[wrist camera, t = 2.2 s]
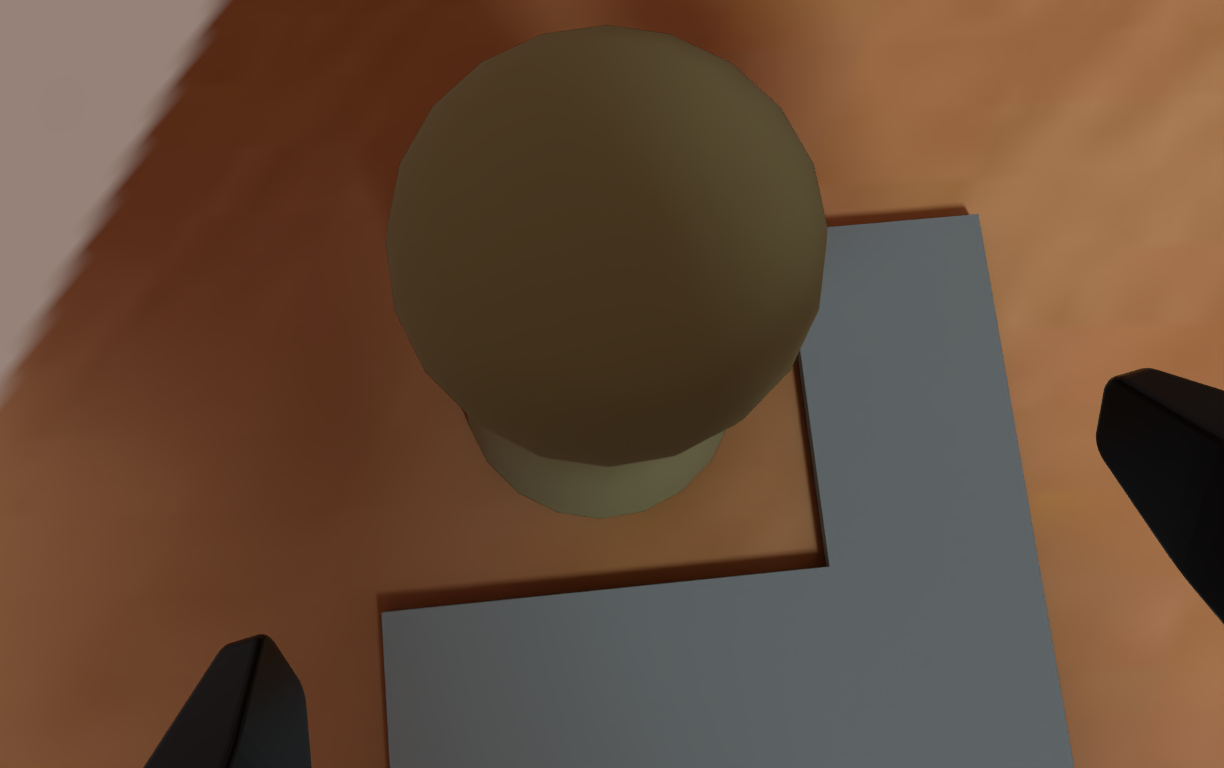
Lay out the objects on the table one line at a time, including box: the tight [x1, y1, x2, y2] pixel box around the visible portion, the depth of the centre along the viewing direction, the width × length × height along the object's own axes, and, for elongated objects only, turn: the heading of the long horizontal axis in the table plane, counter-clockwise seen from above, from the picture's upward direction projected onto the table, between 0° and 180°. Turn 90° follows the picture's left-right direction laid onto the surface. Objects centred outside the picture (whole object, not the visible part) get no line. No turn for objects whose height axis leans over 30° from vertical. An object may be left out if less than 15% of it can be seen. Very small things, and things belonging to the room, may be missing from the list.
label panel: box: [381, 214, 1074, 768], centre depth 19 cm, size 20×14×1 cm
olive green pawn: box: [386, 25, 827, 519], centre depth 15 cm, size 6×6×11 cm
